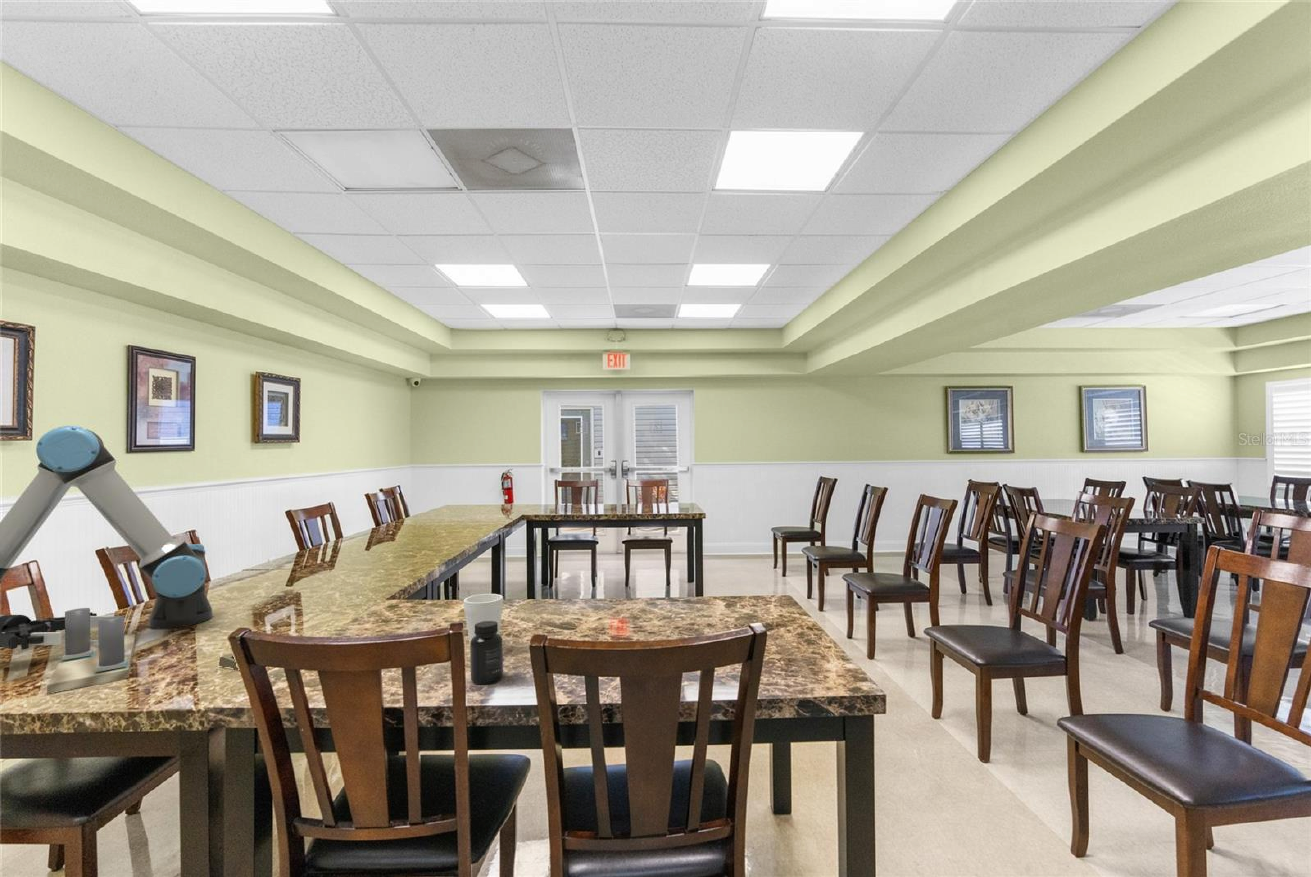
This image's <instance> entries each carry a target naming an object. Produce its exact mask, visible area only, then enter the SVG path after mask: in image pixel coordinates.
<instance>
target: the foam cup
mask: <svg viewBox="0 0 1311 877" xmlns="http://www.w3.org/2000/svg"><path fill="white" fill-rule="evenodd" d="M503 607H504V596H503V595H502V594H497V593H480V594H474V595H471V596H467V597H466V598H464V599H463V611H464V615H465V623H466V628H467V635H468V641H469V644H470V642H471V639H472V638H473V637H474V636H476V635H475V633H474V631H475V624H477V623H479V622H483V621H495V622H497V623H498V632H497V634H499V635H500V633H501V632H500V631H501V622H502V614H503Z"/></svg>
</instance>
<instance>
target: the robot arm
mask: <svg viewBox="0 0 1311 877" xmlns="http://www.w3.org/2000/svg"><path fill="white" fill-rule="evenodd" d="M104 444H105V443H104V442H103V440H102V438H101V437H100V436H99V435H98V434H97V433H95V432H94V431H92V430H90V429H87V428H84V427H80V426H77V425H62V426H58V427H56V428H52V429H51V430H48V431H47V432H46V433H44V434H43V435H42V436H41V437H40V438H39V440H38V441H37V443H36V447H35V449H36V450H35V452H36V456H37V458H38V460H39V462H40V463H38V464H37V467H36V468H37V470H38V473H37V474H36V476H35V477H34V478H33V479H32V481H31V482H30V483H29V484H28V486H27V487H26V488H25V490H24V491H23V493H21V495H20V496H19V497H18V499H17V500H16V501H15V503H13V505H12V507H11V508H10V509H9V511H8V512H7V513H6V514H5V516H4V517H2V519H1V521H0V584H2V582H3V578H4V577H5V576H6V575H7V573H8V571H9V570H10V569H11V567H12V566H13V564H14V563H15V562H16V560H17V559H18V558H19V556H20V555H21V554H22V553H23V551H24V550H25V548H26V547H27V545H28V544H30V542H31V540H32V539H33V538H34V536H35V535H36V533H37V532H39V530H40V528H41V527H42V526H43V524H44V523H45V522H46V520H47V519H48V518H49V517H50V515H51V513H52V512H53V511H54V510H55V509H56V507H57V506H58V504H59V503H60V502H61V500H62V499H63V497H64V496H65V495H66V493H67V492H68V491H69V490H70V489H71V487H73V488H74V487H76V488H77V489H79V491H80V492H81V493H82V495H84V496H85V498H86V499H87V500H88V502H90V503H91V504H92V505H93V507H94V508H95V509H96V511H98V512H99V513H100V514H101V516H102V517H103V518H104V519H105V520H106V522H108V524H109V525H110V526H112V528H113V529H114V530H115V531H116V532H117V533H118V535H119V536H120V537H121V538H122V539H123V540H124V542H126V544H127V545H128V546H129V547H130V548H131V549H132V551H133V552H134V553H135V554H136V555H137V556H138V557H139V559H140V560H139V564H138V568H139V569H140V570H141V571H142V572H143V573H144V574H145V575H146V577H147V578H148V579H149V580H150V581H151V583H152V584H151V585H152V586H153V589H154V590H155V594H156V595H155V596H156V597H155V598H156V599H155V602H154V604H153V607H152V609H151V611H150V615H149V618H148V627H149V628H150V629H160V630H161V629H173V628H180V627H181V628H182V627H187V626H191V625H195V624H200V623H203V622H206V621H209V620H210V619H213V608H212V606H211V604H210V602H209V601H210V600H209V599H208V596H207V594H206V577H207V567H206V562H205V559H206V558H205V556H206V550H205V546H204V545H203V544H202V543H196V544H194V543H193V544H192V543H191V544H187V542H186V541H185V540H184V539H176V538H174V537H173V535H171V533H170V531H168V530H167V529H166V527H164V526H163V524H162V523H161V522H160V521H159V519H158V518H157V517H156V516H155V515H154V514H153V512H152V511H151V510H150V509H149V508H148V507H147V506H146V505H145V503H144V502H143V501H142V499H140V497H139V496H138V495H137V494H136V492H135V491H134V490H133V489H132V488H131V487H130V486H129V484H128V483H127V482H126V481H125V480H124V478H123V477H122V476H121V475H120V474H119V473H118V471H117V470H116V469H115V468H116V464H117V460H116V458H114V456H113V454H111V453H110V452H109V451H108V450H107V448H106V447H105V445H104ZM115 616H116V615H98V614H97V613H94V612H92V611H90V629H91V628H98V620H100V619H104V618H108V617H115ZM61 631H65V616H61V617H48V618H46V619H42V620H40V619H35V620H31V618H30V617H28V616H27V615H26V614H25V615H24V614H0V648H5V649H9V650H15V649H18V647H19V646H20V649H21V651H22V650H23V651H25V650H28V649H29V648H30V647H29V646H59V645H62V632H61Z"/></svg>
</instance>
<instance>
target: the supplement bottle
mask: <svg viewBox="0 0 1311 877" xmlns="http://www.w3.org/2000/svg"><path fill="white" fill-rule="evenodd" d="M497 632H498V623H497V622H495V621H483V622H479V623H477V624H475V631H474V633H475V635H476V636H474V637H473V638H472V639H471V642H470V643H469V649H470V650H469V652H470V653H469V660H470V661H469V662H470V663H469V664H470V680H471V682H472V683H473V684H475V685H479V686H480V685H481V686H485V685H493V684H495V683H498V682H500V681H501V680H502V679H503V676H504V645H503V644H504V643H503V637H502V635H501V634H500V633H499V634H497Z"/></svg>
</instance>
